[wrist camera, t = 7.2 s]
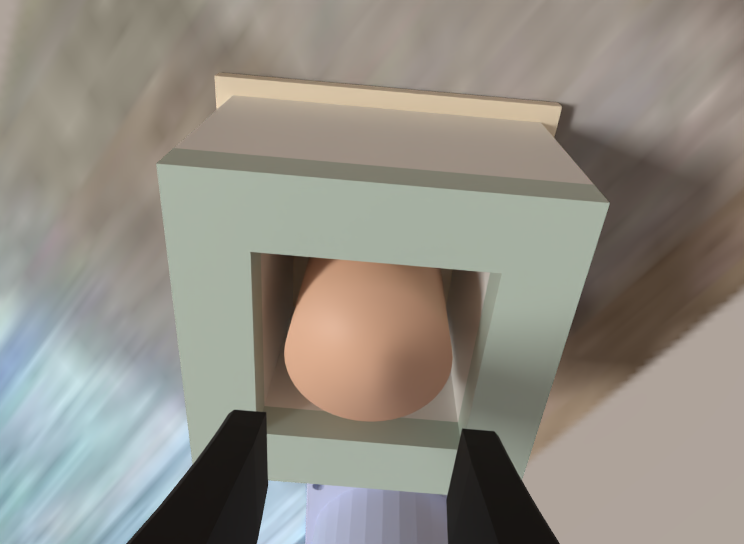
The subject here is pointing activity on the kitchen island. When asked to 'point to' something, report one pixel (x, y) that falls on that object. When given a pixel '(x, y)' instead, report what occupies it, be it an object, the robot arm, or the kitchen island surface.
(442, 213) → the socket
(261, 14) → the kitchen island surface
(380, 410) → the peg
